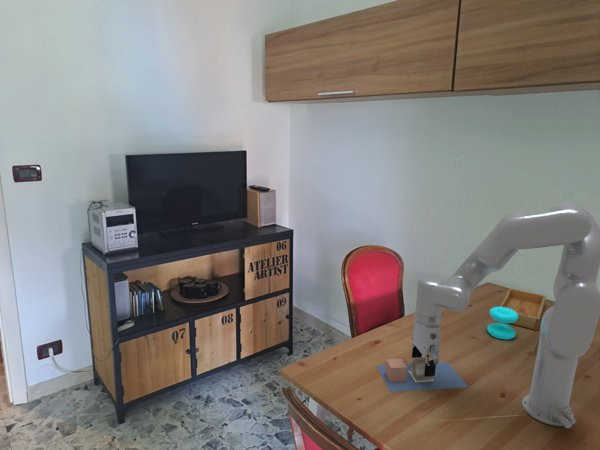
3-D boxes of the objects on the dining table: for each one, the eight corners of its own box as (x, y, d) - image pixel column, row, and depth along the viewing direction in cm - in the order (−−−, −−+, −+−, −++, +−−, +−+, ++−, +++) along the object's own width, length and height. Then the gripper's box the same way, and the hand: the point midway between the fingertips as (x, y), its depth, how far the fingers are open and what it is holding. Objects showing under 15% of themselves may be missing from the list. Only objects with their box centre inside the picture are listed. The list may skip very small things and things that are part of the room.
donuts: (489, 303, 167) (516, 307, 164) (485, 326, 170) (512, 331, 167) (491, 314, 158) (520, 318, 155) (487, 338, 161) (516, 343, 157)
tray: (508, 298, 200) (509, 287, 199) (544, 306, 192) (546, 295, 191) (495, 321, 175) (497, 309, 174) (536, 332, 167) (539, 319, 166)
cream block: (431, 380, 131) (433, 365, 130) (416, 380, 131) (418, 366, 130) (425, 370, 136) (426, 357, 135) (410, 371, 136) (411, 357, 134)
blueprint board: (468, 389, 129) (468, 386, 128) (390, 393, 125) (390, 391, 125) (447, 363, 142) (447, 361, 142) (376, 367, 139) (376, 365, 139)
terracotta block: (405, 381, 130) (407, 367, 129) (390, 382, 130) (391, 368, 129) (399, 372, 135) (401, 358, 134) (384, 373, 135) (386, 359, 133)
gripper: (452, 329, 121) (446, 382, 125) (427, 305, 138) (422, 352, 142) (427, 330, 120) (422, 384, 124) (405, 305, 137) (401, 353, 141)
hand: (422, 367), depth 133 cm, fingers open, 9 cm apart
